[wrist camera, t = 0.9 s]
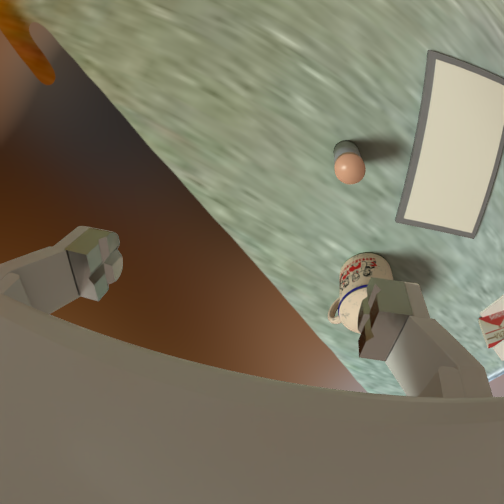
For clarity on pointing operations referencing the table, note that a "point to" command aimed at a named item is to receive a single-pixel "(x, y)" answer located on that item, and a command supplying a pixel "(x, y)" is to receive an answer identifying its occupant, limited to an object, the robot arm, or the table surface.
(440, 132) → the whiteboard
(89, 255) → the robot arm
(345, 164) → the cylinder
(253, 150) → the table surface
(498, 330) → the cigarette display
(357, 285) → the teacup with lid
